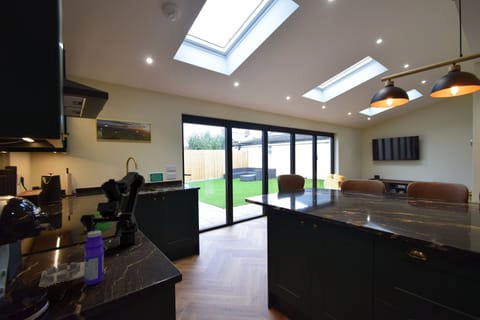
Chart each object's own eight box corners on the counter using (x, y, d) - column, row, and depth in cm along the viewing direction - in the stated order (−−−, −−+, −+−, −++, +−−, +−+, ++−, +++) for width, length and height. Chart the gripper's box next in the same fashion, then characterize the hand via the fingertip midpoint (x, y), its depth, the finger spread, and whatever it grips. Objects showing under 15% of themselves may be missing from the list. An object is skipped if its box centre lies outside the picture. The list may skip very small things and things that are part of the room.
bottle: (82, 279, 75) (82, 231, 75) (100, 274, 79) (101, 228, 79) (85, 288, 70) (86, 236, 70) (105, 281, 74) (106, 232, 74)
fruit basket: (113, 227, 136) (113, 210, 136) (102, 232, 127) (102, 213, 127) (97, 227, 137) (97, 209, 138) (85, 231, 129) (86, 213, 129)
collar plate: (93, 260, 90) (93, 254, 90) (96, 273, 79) (96, 266, 79) (42, 273, 80) (42, 266, 80) (37, 289, 69) (38, 281, 70)
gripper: (82, 194, 84) (64, 230, 73) (132, 193, 87) (122, 227, 76) (92, 210, 91) (77, 244, 80) (138, 208, 95) (129, 241, 84)
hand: (101, 239), depth 80 cm, fingers open, 9 cm apart
